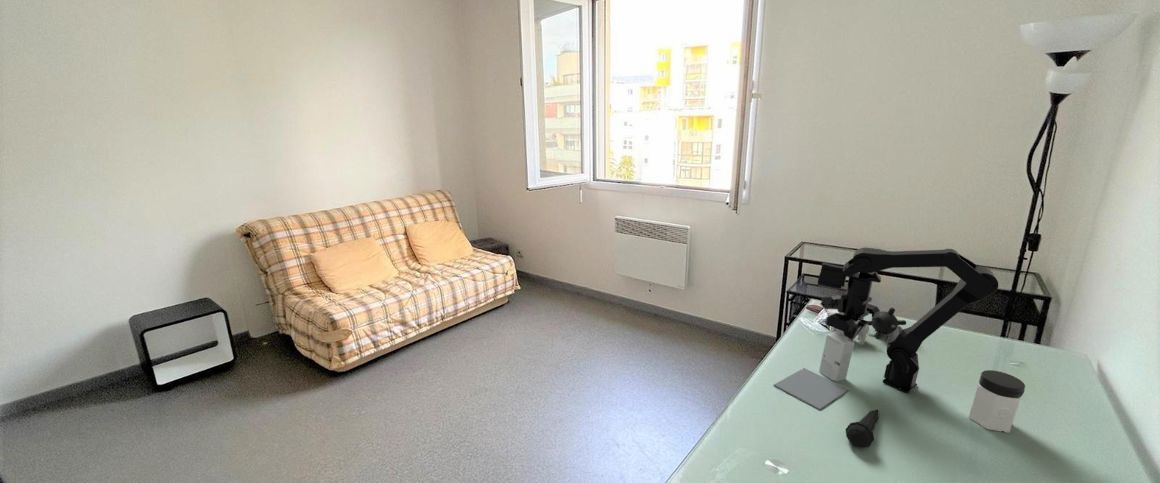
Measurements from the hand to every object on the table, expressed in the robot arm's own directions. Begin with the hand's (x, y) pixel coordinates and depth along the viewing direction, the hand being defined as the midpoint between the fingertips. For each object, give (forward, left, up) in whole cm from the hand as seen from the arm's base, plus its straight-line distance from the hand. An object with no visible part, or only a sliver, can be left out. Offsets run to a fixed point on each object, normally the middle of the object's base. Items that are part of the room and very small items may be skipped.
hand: (847, 343), depth 138 cm
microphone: (-18, +23, -9) cm, 30 cm away
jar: (-33, -6, -9) cm, 35 cm away
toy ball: (+3, -32, -9) cm, 34 cm away
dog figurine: (+9, -19, -9) cm, 23 cm away
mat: (0, +17, -8) cm, 19 cm away
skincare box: (0, +6, -9) cm, 10 cm away
